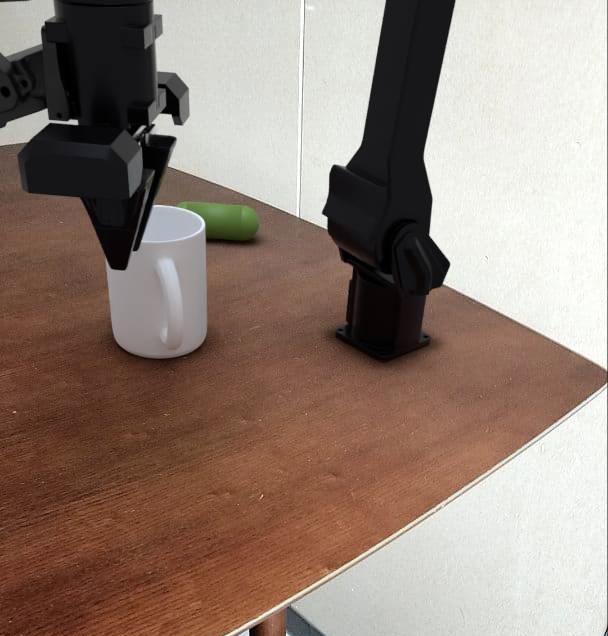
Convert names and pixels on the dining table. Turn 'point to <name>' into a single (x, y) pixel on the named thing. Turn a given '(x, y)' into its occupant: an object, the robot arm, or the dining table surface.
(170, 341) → the mug
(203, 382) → the dining table surface
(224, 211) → the pickle
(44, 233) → the dining table surface
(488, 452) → the dining table surface
